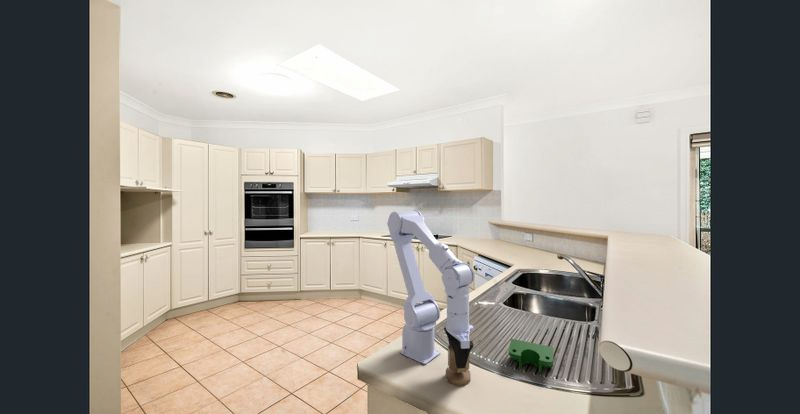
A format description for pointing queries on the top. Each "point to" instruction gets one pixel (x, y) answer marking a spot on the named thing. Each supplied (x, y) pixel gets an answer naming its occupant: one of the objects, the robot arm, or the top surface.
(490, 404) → the top surface
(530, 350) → the clamp
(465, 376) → the walnut stand
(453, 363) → the bronze collar
